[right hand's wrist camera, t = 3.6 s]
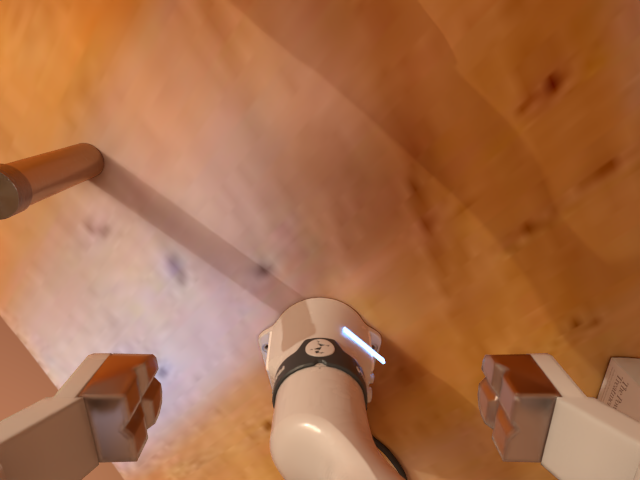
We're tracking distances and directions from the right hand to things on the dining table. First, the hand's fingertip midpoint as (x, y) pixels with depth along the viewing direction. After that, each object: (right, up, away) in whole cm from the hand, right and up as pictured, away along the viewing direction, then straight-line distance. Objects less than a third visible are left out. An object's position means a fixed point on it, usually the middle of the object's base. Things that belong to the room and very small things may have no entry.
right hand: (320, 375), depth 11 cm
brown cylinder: (-31, +14, +46) cm, 57 cm away
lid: (-31, +8, +30) cm, 44 cm away
